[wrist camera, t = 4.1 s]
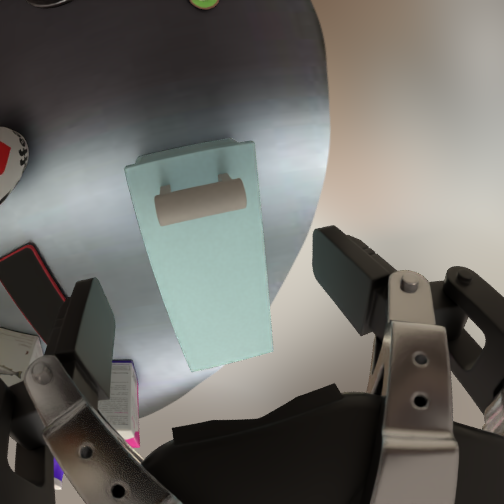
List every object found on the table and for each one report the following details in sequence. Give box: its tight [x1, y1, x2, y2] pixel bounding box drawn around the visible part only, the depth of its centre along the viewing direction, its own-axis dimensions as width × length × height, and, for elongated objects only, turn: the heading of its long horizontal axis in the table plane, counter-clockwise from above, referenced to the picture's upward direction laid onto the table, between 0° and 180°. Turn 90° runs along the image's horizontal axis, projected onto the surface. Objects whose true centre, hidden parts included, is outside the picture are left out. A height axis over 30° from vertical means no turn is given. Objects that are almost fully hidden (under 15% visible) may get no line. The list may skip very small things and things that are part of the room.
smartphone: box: [0, 245, 66, 344], centre depth 28 cm, size 7×1×15 cm
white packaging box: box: [0, 328, 43, 387], centre depth 26 cm, size 7×7×13 cm
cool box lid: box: [124, 141, 273, 372], centre depth 22 cm, size 21×9×5 cm, turn 6°
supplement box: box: [98, 360, 140, 448], centre depth 33 cm, size 6×6×12 cm
